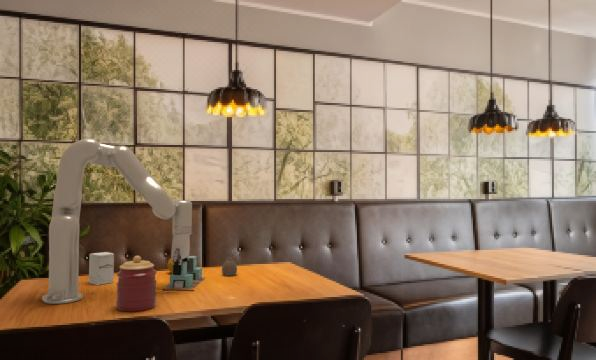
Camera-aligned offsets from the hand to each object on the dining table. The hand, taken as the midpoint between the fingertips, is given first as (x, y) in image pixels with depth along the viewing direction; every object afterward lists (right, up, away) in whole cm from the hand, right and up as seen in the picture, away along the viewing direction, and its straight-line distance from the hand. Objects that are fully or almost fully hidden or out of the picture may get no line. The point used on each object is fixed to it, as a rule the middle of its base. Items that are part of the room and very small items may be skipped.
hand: (180, 272), depth 179 cm
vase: (+16, -7, +22) cm, 29 cm away
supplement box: (-36, -7, +9) cm, 38 cm away
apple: (-9, -7, +26) cm, 28 cm away
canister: (-8, -6, -28) cm, 29 cm away
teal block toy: (0, -5, 0) cm, 5 cm away
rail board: (+1, -7, +6) cm, 9 cm away
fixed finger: (+1, -6, +14) cm, 15 cm away
